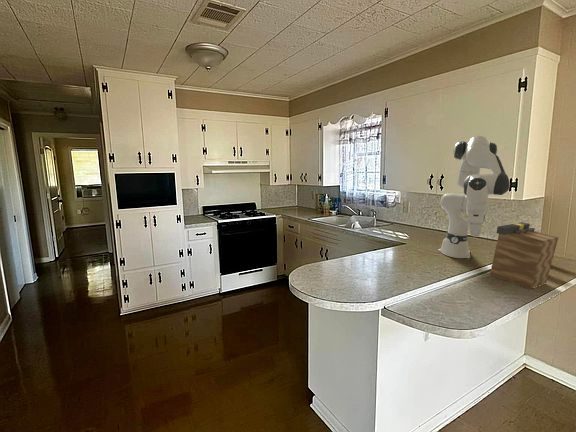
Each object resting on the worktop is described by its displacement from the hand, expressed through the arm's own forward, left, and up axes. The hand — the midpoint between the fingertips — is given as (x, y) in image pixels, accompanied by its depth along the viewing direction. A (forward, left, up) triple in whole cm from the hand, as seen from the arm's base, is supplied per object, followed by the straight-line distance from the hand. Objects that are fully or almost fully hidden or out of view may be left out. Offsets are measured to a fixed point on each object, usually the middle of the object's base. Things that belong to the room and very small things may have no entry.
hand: (476, 229), depth 163 cm
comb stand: (-21, +21, -28) cm, 41 cm away
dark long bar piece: (-19, +15, -2) cm, 24 cm away
